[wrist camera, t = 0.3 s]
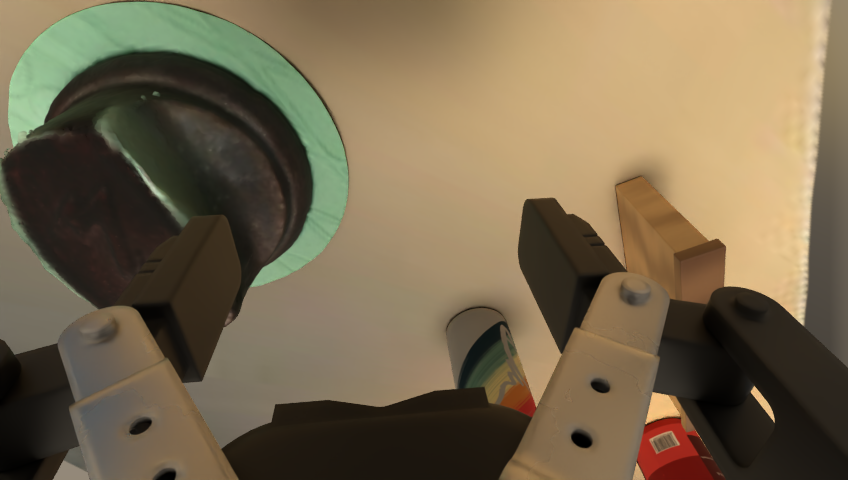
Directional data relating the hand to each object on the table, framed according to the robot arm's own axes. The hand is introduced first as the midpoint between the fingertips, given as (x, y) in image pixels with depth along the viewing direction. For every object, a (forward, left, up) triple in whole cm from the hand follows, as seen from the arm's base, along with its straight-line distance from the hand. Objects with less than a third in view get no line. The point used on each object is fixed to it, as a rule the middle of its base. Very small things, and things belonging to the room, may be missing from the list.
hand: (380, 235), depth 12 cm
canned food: (+46, +32, -18) cm, 59 cm away
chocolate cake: (+6, -12, -18) cm, 22 cm away
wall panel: (+19, +21, -18) cm, 33 cm away
